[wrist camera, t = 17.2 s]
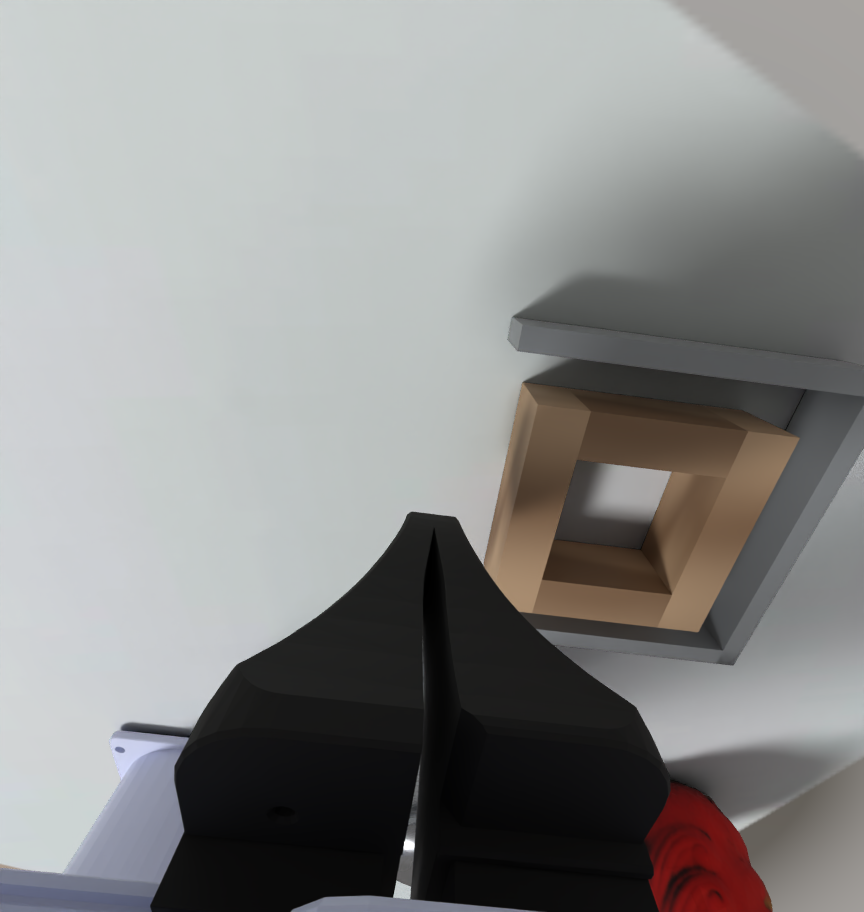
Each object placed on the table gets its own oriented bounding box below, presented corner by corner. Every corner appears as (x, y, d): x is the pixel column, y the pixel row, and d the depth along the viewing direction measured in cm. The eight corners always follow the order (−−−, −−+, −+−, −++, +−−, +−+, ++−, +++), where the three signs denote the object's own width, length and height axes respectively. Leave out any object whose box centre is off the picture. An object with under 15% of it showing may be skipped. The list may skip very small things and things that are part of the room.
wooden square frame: (664, 583, 17) (698, 632, 15) (483, 562, 17) (489, 608, 15) (742, 410, 14) (800, 437, 12) (522, 382, 14) (538, 404, 12)
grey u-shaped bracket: (703, 625, 18) (733, 665, 16) (457, 596, 18) (459, 634, 16) (843, 361, 13) (906, 375, 11) (512, 316, 13) (522, 324, 11)
